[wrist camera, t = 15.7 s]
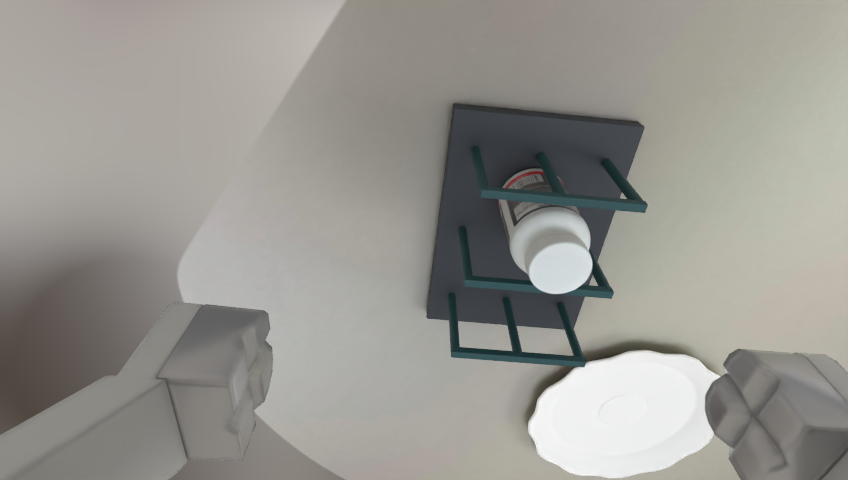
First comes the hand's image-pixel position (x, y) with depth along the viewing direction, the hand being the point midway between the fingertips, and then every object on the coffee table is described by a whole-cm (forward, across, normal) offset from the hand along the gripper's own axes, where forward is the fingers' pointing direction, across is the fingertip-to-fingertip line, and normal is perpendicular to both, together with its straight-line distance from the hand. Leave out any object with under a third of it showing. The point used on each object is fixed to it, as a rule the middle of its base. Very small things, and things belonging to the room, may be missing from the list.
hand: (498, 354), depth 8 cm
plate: (+29, -24, +36) cm, 52 cm away
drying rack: (+29, -8, +14) cm, 33 cm away
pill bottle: (+28, -8, +10) cm, 31 cm away
